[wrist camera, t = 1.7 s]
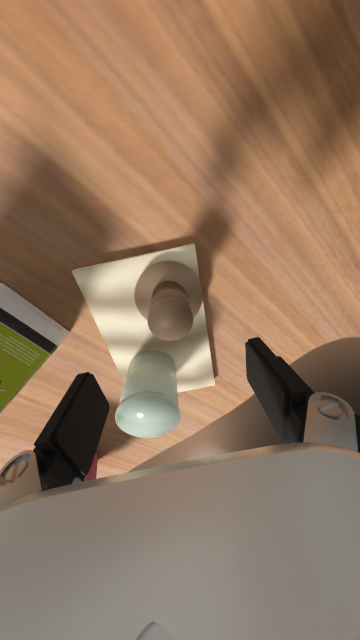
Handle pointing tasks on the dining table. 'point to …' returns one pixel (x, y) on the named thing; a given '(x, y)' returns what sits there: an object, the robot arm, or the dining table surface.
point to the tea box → (23, 342)
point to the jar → (149, 396)
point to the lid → (168, 298)
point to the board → (132, 328)
